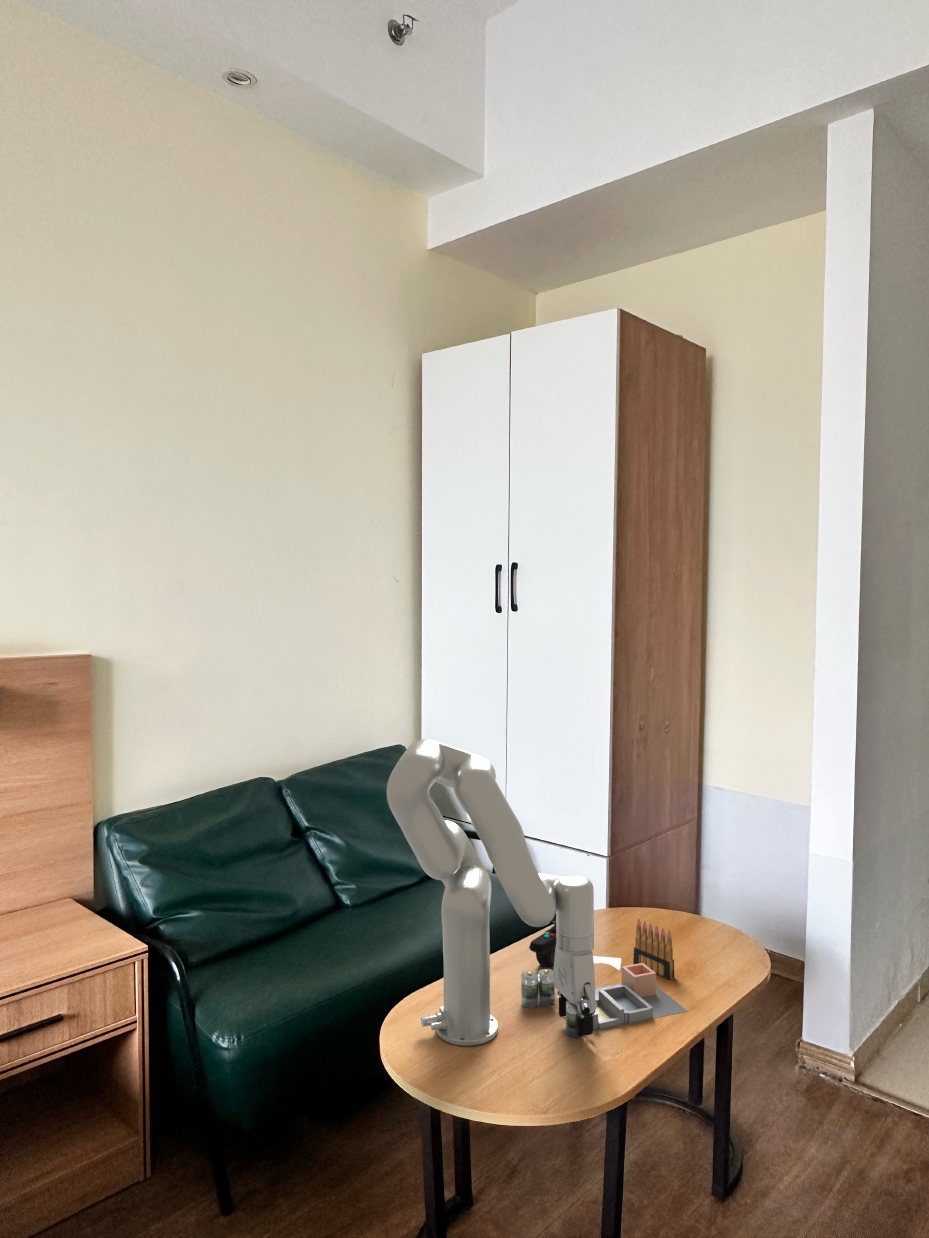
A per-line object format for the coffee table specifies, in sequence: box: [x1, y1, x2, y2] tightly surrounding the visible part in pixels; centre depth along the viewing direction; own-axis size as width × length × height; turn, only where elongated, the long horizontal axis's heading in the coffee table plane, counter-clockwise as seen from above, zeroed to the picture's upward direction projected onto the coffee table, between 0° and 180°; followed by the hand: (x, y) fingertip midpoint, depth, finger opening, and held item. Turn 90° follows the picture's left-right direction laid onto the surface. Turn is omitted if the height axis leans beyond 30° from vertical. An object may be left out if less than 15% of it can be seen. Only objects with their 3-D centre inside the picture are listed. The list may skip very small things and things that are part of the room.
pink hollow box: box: [621, 963, 657, 997], centre depth 196 cm, size 5×5×5 cm
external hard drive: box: [593, 955, 622, 971], centre depth 207 cm, size 2×8×12 cm
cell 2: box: [537, 968, 556, 1007], centre depth 193 cm, size 4×4×7 cm
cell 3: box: [565, 1000, 584, 1040], centre depth 180 cm, size 4×4×7 cm
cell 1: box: [520, 970, 539, 1009], centre depth 192 cm, size 4×4×7 cm
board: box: [555, 982, 689, 1032], centre depth 190 cm, size 23×16×4 cm
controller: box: [528, 919, 556, 969], centre depth 210 cm, size 4×12×10 cm, turn 142°
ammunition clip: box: [632, 918, 675, 981], centre depth 205 cm, size 11×2×12 cm, turn 39°
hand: (575, 1024), depth 180 cm, fingers open, 7 cm apart
